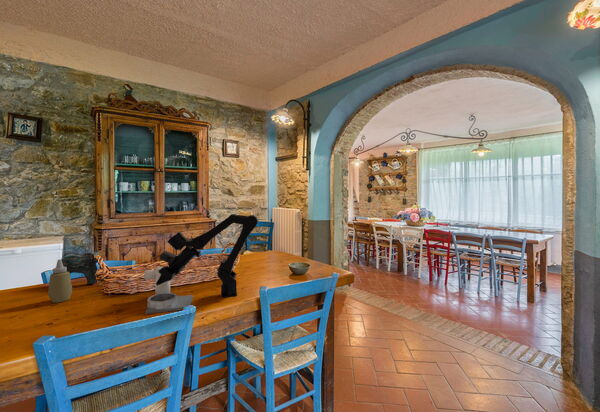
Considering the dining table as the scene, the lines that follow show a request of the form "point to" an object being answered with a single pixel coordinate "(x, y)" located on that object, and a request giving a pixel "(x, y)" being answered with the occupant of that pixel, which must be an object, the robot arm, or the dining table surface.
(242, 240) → the robot arm
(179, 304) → the duct board
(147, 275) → the duct elbow
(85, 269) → the spray gun
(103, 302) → the dining table surface
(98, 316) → the dining table surface
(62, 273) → the squeeze bottle
